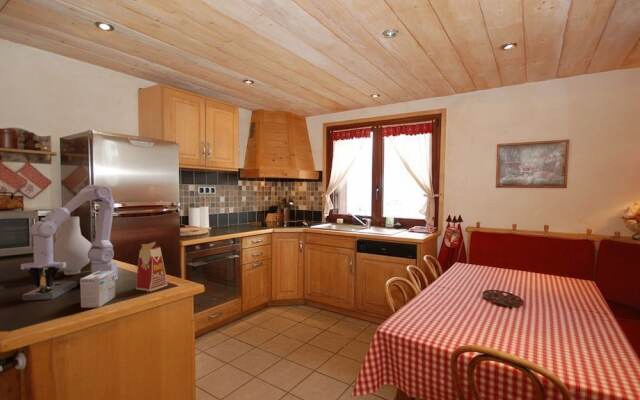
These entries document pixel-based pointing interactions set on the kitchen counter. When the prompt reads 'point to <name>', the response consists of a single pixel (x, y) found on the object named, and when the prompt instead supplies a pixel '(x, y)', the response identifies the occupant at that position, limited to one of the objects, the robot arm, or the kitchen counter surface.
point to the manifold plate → (54, 291)
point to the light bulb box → (97, 288)
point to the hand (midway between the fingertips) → (44, 286)
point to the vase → (71, 247)
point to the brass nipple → (43, 283)
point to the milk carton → (150, 268)
